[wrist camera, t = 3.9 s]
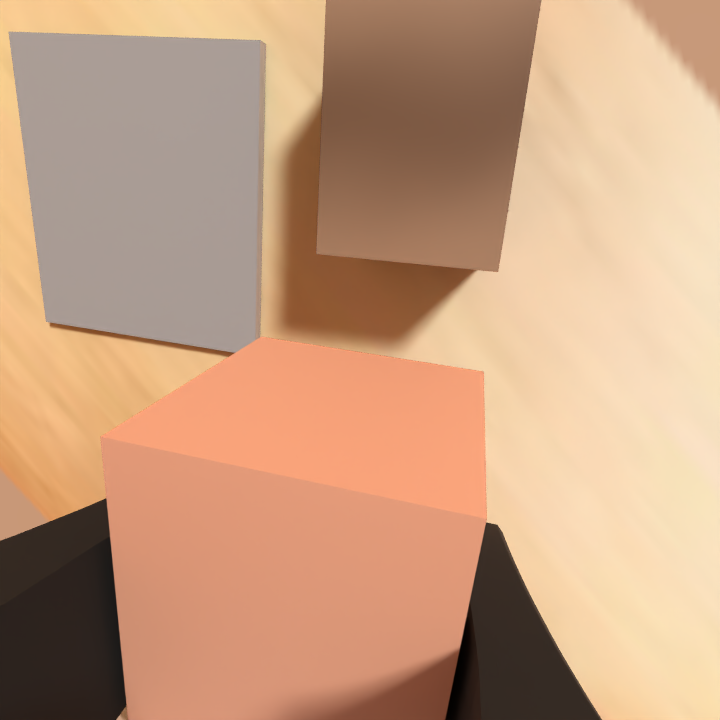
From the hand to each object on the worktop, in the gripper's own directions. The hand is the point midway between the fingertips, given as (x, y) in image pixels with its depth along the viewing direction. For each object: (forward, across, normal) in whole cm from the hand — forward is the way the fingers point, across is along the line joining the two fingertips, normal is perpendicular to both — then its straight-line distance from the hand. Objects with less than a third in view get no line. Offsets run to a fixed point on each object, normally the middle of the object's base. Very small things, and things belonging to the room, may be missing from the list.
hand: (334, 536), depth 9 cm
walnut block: (+9, 0, -8) cm, 12 cm away
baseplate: (+9, +10, -5) cm, 14 cm away
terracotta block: (+2, 0, 0) cm, 2 cm away
